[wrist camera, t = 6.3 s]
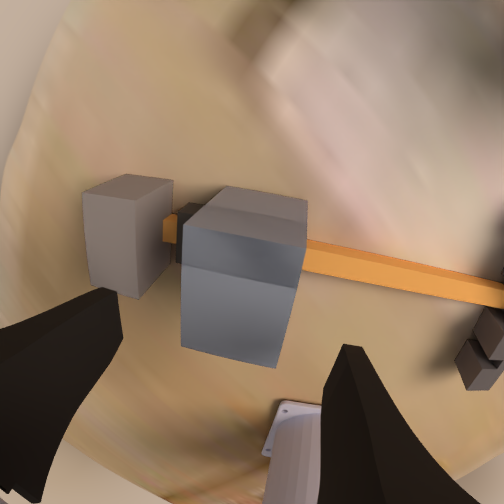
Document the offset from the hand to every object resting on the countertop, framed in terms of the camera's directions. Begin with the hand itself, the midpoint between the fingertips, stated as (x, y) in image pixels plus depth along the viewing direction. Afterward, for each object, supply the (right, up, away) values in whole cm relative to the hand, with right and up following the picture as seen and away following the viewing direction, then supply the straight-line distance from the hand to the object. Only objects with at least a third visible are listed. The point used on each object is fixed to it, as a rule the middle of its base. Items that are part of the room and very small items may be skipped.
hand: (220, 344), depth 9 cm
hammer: (+6, +2, +7) cm, 9 cm away
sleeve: (+1, +3, +7) cm, 8 cm away
